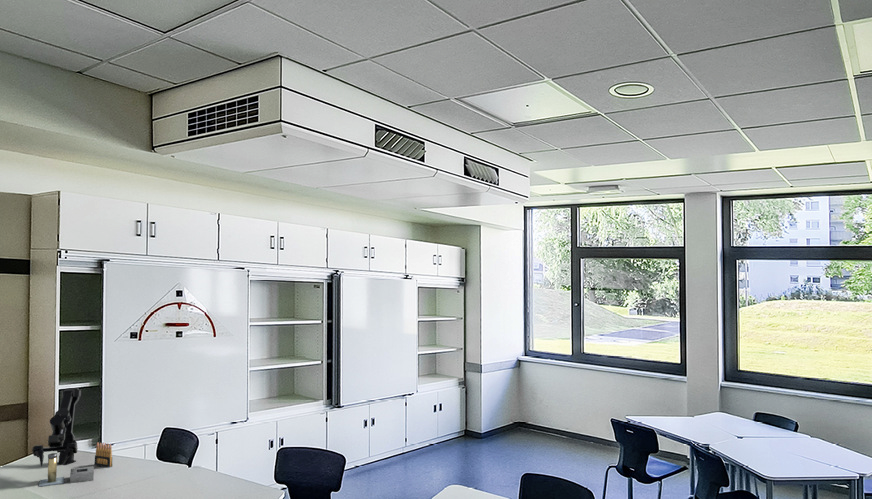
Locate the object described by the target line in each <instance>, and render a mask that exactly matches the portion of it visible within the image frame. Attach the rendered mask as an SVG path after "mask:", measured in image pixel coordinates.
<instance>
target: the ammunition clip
mask: <svg viewBox="0 0 872 499" xmlns="http://www.w3.org/2000/svg"><path fill="white" fill-rule="evenodd" d="M112 455H113V452H112V444H111V443H110V444H109V443H106V442H105V443H104V442H102V443H101V442H98V441H97V443H96V448H95V455H94V462H93V463H94V466H98V467H103V468H104V467H105V468H111V467H113V456H112Z"/></svg>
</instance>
